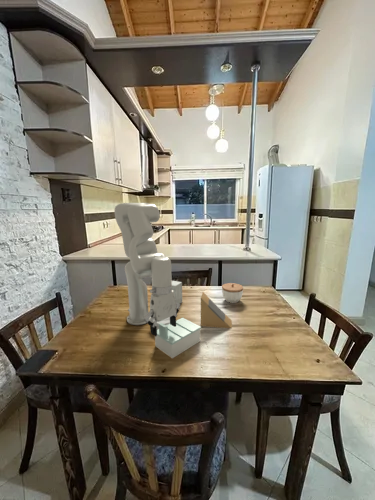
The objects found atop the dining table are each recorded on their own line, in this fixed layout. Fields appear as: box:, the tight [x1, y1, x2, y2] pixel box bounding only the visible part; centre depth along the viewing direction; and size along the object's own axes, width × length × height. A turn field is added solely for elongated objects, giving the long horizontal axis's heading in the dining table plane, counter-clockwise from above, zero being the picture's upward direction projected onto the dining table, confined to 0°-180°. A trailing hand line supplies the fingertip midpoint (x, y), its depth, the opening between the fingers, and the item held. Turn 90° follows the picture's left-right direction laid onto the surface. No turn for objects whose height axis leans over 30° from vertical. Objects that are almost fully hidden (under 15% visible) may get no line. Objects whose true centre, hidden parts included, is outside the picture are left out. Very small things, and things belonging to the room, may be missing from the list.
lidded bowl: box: [221, 282, 244, 304], centre depth 141 cm, size 13×13×11 cm
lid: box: [157, 317, 202, 345], centre depth 98 cm, size 12×17×6 cm
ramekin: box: [152, 317, 170, 330], centre depth 112 cm, size 11×11×5 cm
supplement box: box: [172, 280, 183, 305], centre depth 138 cm, size 7×7×13 cm
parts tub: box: [154, 329, 201, 359], centre depth 99 cm, size 11×16×6 cm
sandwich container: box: [200, 291, 233, 329], centre depth 115 cm, size 9×15×15 cm, turn 81°
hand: (163, 329), depth 92 cm, fingers open, 9 cm apart
